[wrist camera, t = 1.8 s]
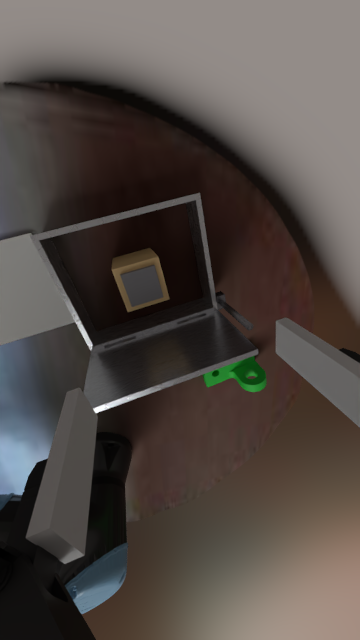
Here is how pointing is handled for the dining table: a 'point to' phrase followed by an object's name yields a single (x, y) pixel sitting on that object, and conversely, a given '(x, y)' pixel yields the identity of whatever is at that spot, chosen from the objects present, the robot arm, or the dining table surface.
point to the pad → (27, 292)
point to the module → (140, 279)
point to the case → (152, 325)
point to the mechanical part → (239, 375)
